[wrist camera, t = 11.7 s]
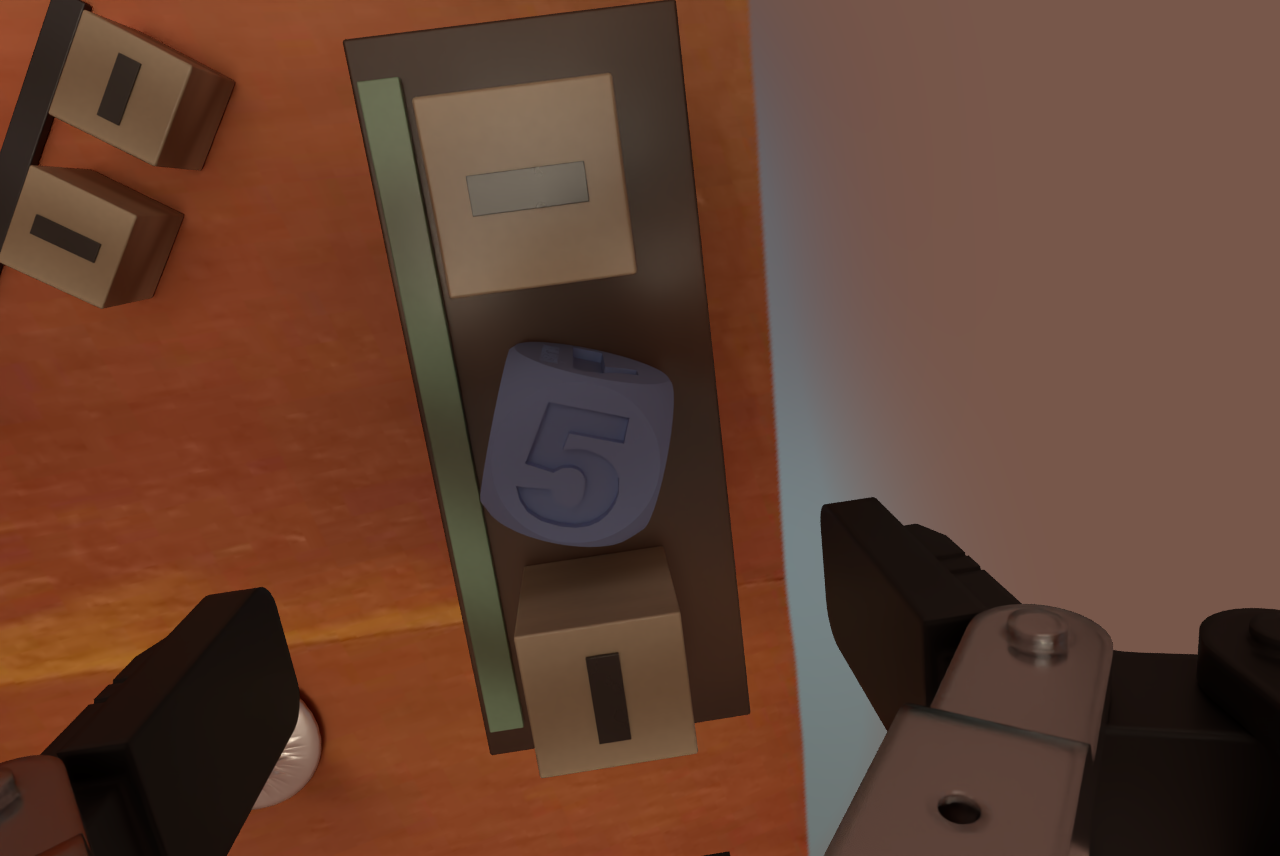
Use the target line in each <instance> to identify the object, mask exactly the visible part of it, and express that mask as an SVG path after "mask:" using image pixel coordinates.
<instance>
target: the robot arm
mask: <svg viewBox="0 0 1280 856" xmlns="http://www.w3.org/2000/svg"><path fill="white" fill-rule="evenodd" d="M821 536H822V549H823V563H824V577H825V591H826V602H827V611H828V617H829V622H830V626H831V630H832V633H833V636H834V639H835V641H836V644H837V646H838V647H839V650H840V651H841V653H842V654H843V656H844V658H845V660H846V661H847V663H848V664H849V667H850V668H851V670H852V671H853V673H854V675H855V677H856V678H857V680H858V682H859V684H860V685H861V687H862V689H863V691H864V692H865V694H866V696H867V697H868V699H869V701H870V702H871V704H872V706H873V707H874V709H875V711H876V713H877V714H878V716H879V718H880V720H881V721H882V723H883V725H884V726H885V728H886V730H887V734H886V736H885V738H884V740H883V742H882V744H881V745H880V747H879V750H878V751H877V754H876V755H875V757H874V759H873V761H872V763H871V765H870V767H869V769H868V771H867V773H866V775H865V777H864V779H863V780H862V782H861V784H860V786H859V788H858V790H857V792H856V794H855V796H854V798H853V800H852V802H851V804H850V806H849V808H848V810H847V812H846V814H845V815H844V817H843V819H842V821H841V823H840V825H839V827H838V829H837V831H836V833H835V835H834V837H833V839H832V841H831V843H830V845H829V847H828V849H827V850H826V852H825V855H824V856H1280V610H1275V609H1262V608H1245V609H1244V608H1243V609H1233V610H1227V611H1222V612H1219V613H1216V614H1213V615H1211V616H1209V617H1207V618H1206V619H1205V620H1204V621H1203V622H1202V624H1201V626H1200V629H1199V644H1198V655H1194V654H1165V653H1137V652H1122V651H1115V650H1113V642H1112V640H1111V637H1110V636H1109V635H1108V633H1107V632H1106V631H1105V630H1104V629H1103V628H1102V627H1101V626H1100V625H1098V624H1097V623H1095V622H1094V621H1092V620H1090V619H1088V618H1086V617H1084V616H1082V615H1080V614H1077V613H1074V612H1072V611H1068V610H1065V609H1061V608H1056V607H1051V606H1045V605H1035V604H1022V603H1020V602H1019V601H1018V600H1017V599H1016V598H1015V597H1014V596H1013V595H1012V594H1010V593H1009V592H1008V591H1007V590H1006V589H1005V588H1004V587H1003V586H1002V585H1000V584H999V583H998V582H997V581H996V580H995V579H994V578H993V577H991V576H990V575H989V574H988V573H987V572H986V571H985V570H981V569H980V566H979V565H978V564H977V563H976V562H975V561H974V560H973V559H972V558H971V557H969V556H966V555H965V552H964V551H963V550H962V549H961V548H960V547H958V546H957V545H956V544H955V543H954V542H953V541H952V540H951V539H950V538H948V537H947V536H946V535H943V534H941V533H938V532H936V531H934V530H931V529H929V528H926V527H924V526H921V525H919V524H911V525H905V526H903V525H902V524H901V523H900V522H899V521H898V520H897V519H896V518H895V517H894V516H893V515H892V514H891V513H890V512H889V511H888V510H887V509H886V508H885V507H884V506H883V505H882V504H881V503H880V502H879V501H878V500H877V499H876V498H874V497H871V498H864V499H858V500H851V501H845V502H837V503H831V504H825V505H823V506H822V509H821ZM299 708H300V695H299V687H298V682H297V678H296V675H295V671H294V668H293V664H292V660H291V657H290V653H289V650H288V646H287V642H286V639H285V635H284V632H283V628H282V624H281V621H280V617H279V614H278V610H277V606H276V603H275V601H274V598H273V596H272V595H271V593H270V592H269V591H268V590H267V589H266V588H263V587H259V588H252V589H245V590H239V591H232V592H225V593H218V594H212V595H208V596H206V597H205V598H203V599H202V600H201V601H200V602H199V604H198V605H197V606H196V607H195V608H194V609H193V610H192V611H191V612H190V613H189V614H188V615H187V616H186V617H185V618H184V619H183V620H182V621H181V622H180V624H179V625H178V626H177V627H176V628H175V629H174V630H173V631H172V632H171V633H170V634H169V635H168V636H167V637H166V638H164V639H163V640H161V641H160V642H158V643H156V644H155V645H153V646H152V647H150V648H149V649H147V650H146V651H144V652H142V653H141V654H139V655H138V656H136V657H135V658H134V659H133V660H132V661H131V662H130V663H129V664H128V665H127V666H126V667H125V668H124V669H123V670H122V671H121V672H120V673H119V674H118V675H117V677H116V678H115V679H114V680H113V684H110V685H108V686H107V687H106V688H105V689H104V690H103V691H102V692H101V693H100V694H99V695H98V696H97V697H96V698H95V699H94V704H90V705H88V706H87V707H86V708H85V709H84V710H83V711H82V712H81V713H80V714H79V715H78V716H77V717H76V719H75V720H74V721H73V722H72V723H71V724H70V725H69V726H68V727H67V728H66V729H65V730H64V731H63V732H62V733H61V734H60V735H59V736H58V737H57V738H56V739H55V740H54V741H53V742H52V743H51V744H50V745H49V746H48V747H47V748H46V749H45V750H44V751H43V752H42V753H41V754H40V755H33V756H26V757H21V758H16V759H13V760H9V761H5V762H2V763H0V856H227V854H228V852H229V850H230V849H231V847H232V845H233V843H234V841H235V839H236V837H237V836H238V834H239V832H240V830H241V828H242V826H243V825H244V823H245V821H246V819H247V817H248V815H249V813H250V812H251V810H252V808H253V806H254V804H255V802H256V800H257V799H258V797H259V795H260V793H261V791H262V789H263V787H264V786H265V784H266V782H267V780H268V778H269V776H270V774H271V773H272V771H273V769H274V767H275V765H276V763H277V761H278V760H279V758H280V756H281V754H282V752H283V750H284V748H285V747H286V745H287V743H288V741H289V739H290V737H291V736H292V734H293V732H294V730H295V728H296V725H297V721H298V717H299ZM704 856H730V852H723V853H717V854H710V855H704Z"/></svg>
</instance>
